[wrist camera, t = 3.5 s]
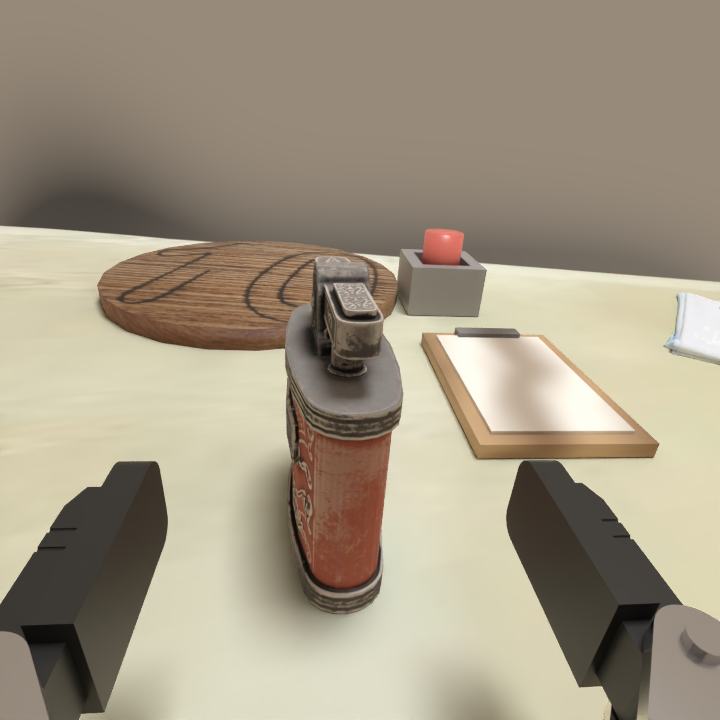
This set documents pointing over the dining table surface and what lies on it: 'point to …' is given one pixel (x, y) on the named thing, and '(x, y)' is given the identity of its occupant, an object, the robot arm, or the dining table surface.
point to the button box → (440, 286)
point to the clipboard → (529, 398)
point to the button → (442, 247)
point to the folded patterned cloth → (697, 328)
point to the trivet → (223, 292)
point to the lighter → (339, 435)
